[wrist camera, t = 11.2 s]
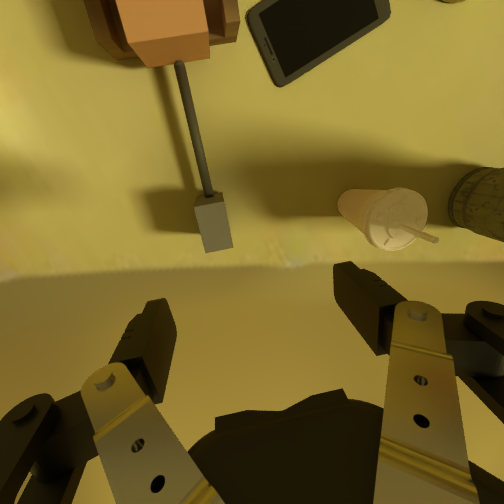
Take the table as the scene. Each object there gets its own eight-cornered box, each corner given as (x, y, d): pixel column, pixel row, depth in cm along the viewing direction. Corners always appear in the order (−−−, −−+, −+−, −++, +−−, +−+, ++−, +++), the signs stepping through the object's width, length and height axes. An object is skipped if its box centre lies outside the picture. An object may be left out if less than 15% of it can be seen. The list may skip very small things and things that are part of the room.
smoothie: (340, 235, 35) (412, 283, 22) (319, 197, 33) (386, 228, 20) (380, 207, 35) (477, 241, 22) (361, 167, 32) (458, 179, 19)
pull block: (125, -22, 22) (88, -95, 16) (192, -31, 23) (183, -105, 16) (195, 238, 32) (190, 260, 25) (241, 228, 32) (248, 248, 26)
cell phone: (389, 19, 27) (393, 16, 26) (276, 91, 28) (278, 90, 27) (367, -68, 24) (372, -74, 23) (243, 16, 25) (244, 12, 25)
